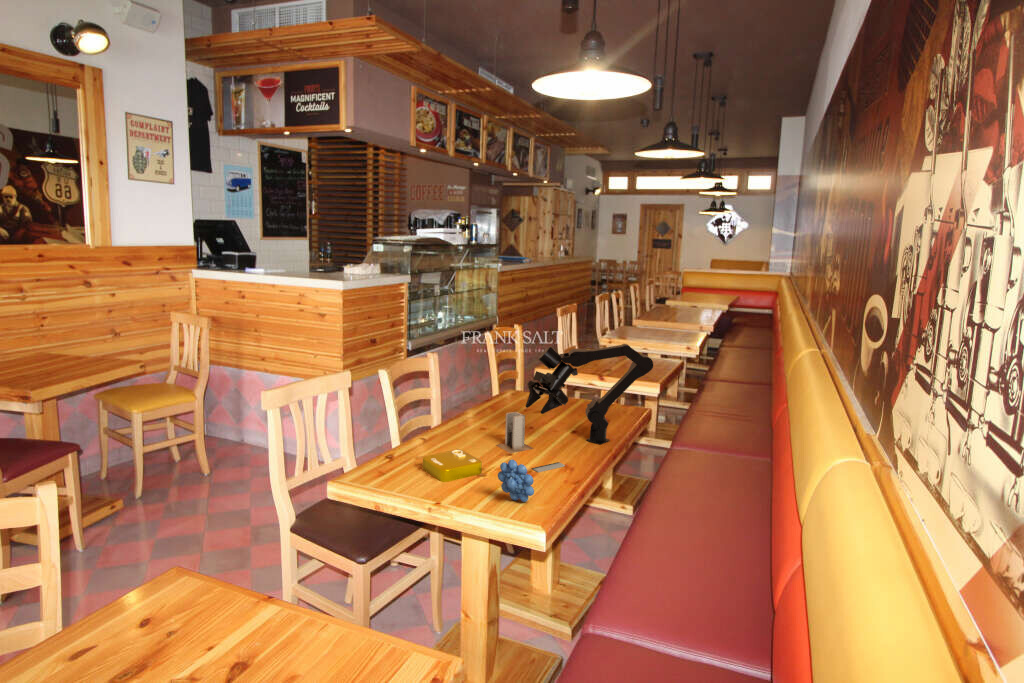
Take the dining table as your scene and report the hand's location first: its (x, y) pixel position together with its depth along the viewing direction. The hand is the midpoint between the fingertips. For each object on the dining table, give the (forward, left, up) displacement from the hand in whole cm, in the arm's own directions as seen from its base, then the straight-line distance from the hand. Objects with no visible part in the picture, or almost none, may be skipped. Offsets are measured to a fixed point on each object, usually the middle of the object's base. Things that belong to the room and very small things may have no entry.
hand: (533, 410), depth 220 cm
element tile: (+37, -3, -14) cm, 40 cm away
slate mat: (+12, +14, -13) cm, 23 cm away
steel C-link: (+8, -2, -12) cm, 15 cm away
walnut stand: (+8, -2, -13) cm, 16 cm away
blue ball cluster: (+41, +27, -14) cm, 51 cm away
